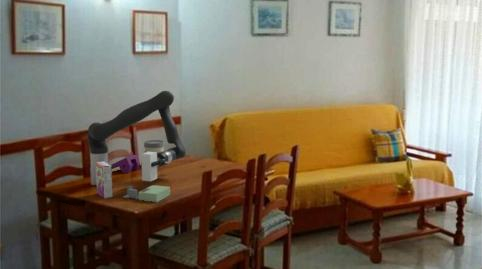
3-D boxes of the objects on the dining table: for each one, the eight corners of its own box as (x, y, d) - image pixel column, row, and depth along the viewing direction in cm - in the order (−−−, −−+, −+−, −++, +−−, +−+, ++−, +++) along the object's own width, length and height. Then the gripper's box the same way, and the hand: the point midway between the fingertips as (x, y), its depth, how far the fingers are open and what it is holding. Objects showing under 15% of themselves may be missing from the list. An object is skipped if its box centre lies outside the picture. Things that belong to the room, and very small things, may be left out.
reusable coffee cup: (168, 164, 341) (168, 141, 339) (155, 168, 331) (155, 144, 328) (153, 162, 348) (153, 139, 345) (140, 166, 338) (139, 142, 335)
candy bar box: (96, 193, 275) (94, 162, 272) (105, 192, 278) (104, 161, 275) (103, 199, 266) (102, 166, 263) (113, 197, 269) (112, 165, 266)
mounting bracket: (110, 180, 326) (131, 170, 317) (105, 167, 326) (126, 157, 318) (121, 176, 334) (141, 167, 326) (115, 164, 335) (136, 154, 326)
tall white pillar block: (148, 177, 286) (148, 151, 284) (157, 178, 284) (156, 152, 282) (142, 180, 279) (141, 153, 277) (150, 181, 278) (150, 154, 275)
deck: (137, 191, 280) (136, 182, 279) (170, 194, 274) (170, 186, 273) (122, 198, 267) (122, 189, 266) (156, 202, 261) (156, 193, 260)
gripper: (151, 150, 296) (134, 156, 280) (174, 152, 291) (159, 158, 275) (151, 164, 297) (134, 170, 281) (174, 166, 292) (159, 173, 276)
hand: (147, 164), depth 278 cm, fingers closed on tall white pillar block, 5 cm apart
